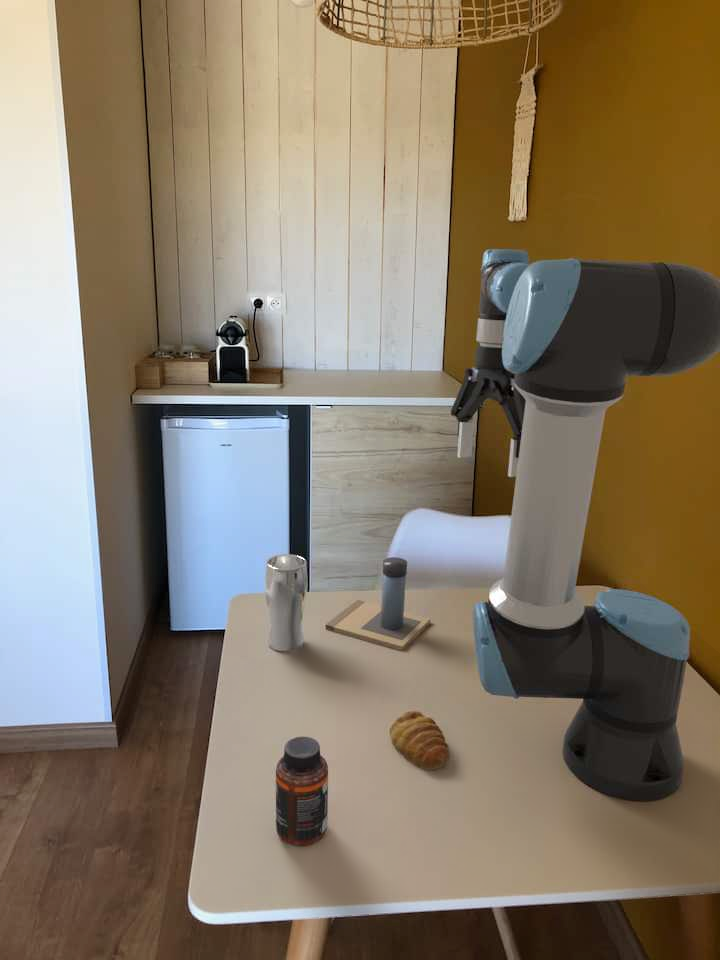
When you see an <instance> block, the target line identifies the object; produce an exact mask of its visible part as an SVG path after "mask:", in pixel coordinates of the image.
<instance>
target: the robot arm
mask: <svg viewBox="0 0 720 960" xmlns="http://www.w3.org/2000/svg"><path fill="white" fill-rule="evenodd" d="M529 256H530V255H529V252H528V251H527V250H525V249H500V248H497V249H496V248H492V249H491V248H489V249H487V250H485V251H484V253H483V256H482V265H481V268H480V273H481V274H480V275H481V276H480V293H479V294H480V295H479V310H478V319H477V328H476V337H475V338H476V341H477V342H478V343H479V344H477V346H475V357H474V365H475V366H476V367H467V368H465V370H464V378H463V380H462V384H461V386H460V388H459V390H458V392H457V393H458V394H457V395H456V398H455V400H454V403H453V405H452V408H451V410H450V415H451V416H453V417H455V418H456V421H458V424H457V439H458V441H457V454H456V455H457V457H456V458H459V459H463V458H469V457H470V458H471V457H472V456H473V453H472V452H473V440H474V439H473V438H474V429H475V427H474V426H475V421H473V420H474V416H475V414H476V413H477V411H478V410H479V409H480V408H481V406H482V404H483V405H484V402H485V401H486V400H487V399H490V400H492V401H495V402H497V403H498V405H500V406H501V407H502V410H503V412H504V414H505V417H506V419H507V421H508V424H509V426H510V429H511V431H512V433H513V437H512V438H511V439H510V446H509V448H510V449H509V459H508V471H507V477H510V478H513V477H515V484H514V492H513V493H514V494H513V501H512V509H511V517H510V523H509V532H508V540H507V549H506V556H505V562H504V563H505V565H504V572H503V577H502V578H500V579H499V580H497V581H495V582H494V583H493V584H492V586H491V587H490V590H489V594H488V599H487V600H488V601H484V600H482V601H480V602H479V601H478V602H476V603H475V604H473V612H472V613H473V614H472V618H473V621H472V622H473V634H474V635H473V636H474V647H475V655H476V663H477V668H478V674H479V679H480V683H481V686H482V687H483V689H484V691H486V692H487V693H488V694H490V695H493V696H498V697H499V696H501V697H510V698H511V697H512V698H514V699H519V698H540V699H541V698H543V699H545V698H547V699H548V698H549V699H576V700H578V699H579V700H581V699H582V702H581V703H580V706H579V707H578V709H577V711H576V713H575V715H574V717H572V720H571V721H570V723H569V725H568V728H567V729H566V731H565V735H564V739H563V746H562V757H563V760H564V762H565V765H566V766H567V768H568V769H569V770H570V772H571V773H573V775H575V776H576V778H578V779H579V780H580V781H582V782H583V783H584V784H585V785H587V786H589V787H591V788H592V789H595V790H597V791H599V792H601V793H604V794H605V795H609V796H612V797H616V798H620V799H623V800H630V801H640V802H642V801H645V802H646V801H647V802H648V801H655V800H660V799H662V798H666V797H669V796H670V795H672V794H673V793H675V792H676V791H677V790H678V789H679V787H680V785H681V784H682V779H683V778H682V777H683V773H684V757H683V751H682V747H681V742H680V737H679V732H678V727H677V720H678V719H677V718H678V713H679V707H680V701H681V696H682V692H683V691H682V690H683V685H684V679H685V673H686V669H687V662H688V659H689V657H690V648H689V647H690V638H691V628H690V625H689V622H688V620H687V619H686V617H685V616H684V615H683V614H682V613H681V612H680V611H679V610H678V609H676V608H675V607H674V606H672V605H670V604H669V603H666V602H665V601H662V600H661V599H659V598H656V597H654V596H651V595H648V594H645V593H641V592H638V591H632V590H626V589H620V588H619V589H617V588H615V589H613V588H612V589H607V590H605V591H604V590H603V591H601V592H599V593H598V594H597V595H596V597H595V598H594V600H593V605H585V602H584V599H583V598H582V595H580V594H579V593H578V592H577V590H576V587H577V586H576V585H577V580H578V574H579V568H580V567H579V566H580V561H581V558H582V557H581V556H582V549H583V546H584V545H583V543H584V538H585V531H586V525H587V520H588V515H589V510H590V503H591V497H592V492H593V486H594V479H595V473H596V469H597V461H598V457H599V451H600V445H601V438H602V434H603V427H604V421H605V415H606V410H607V409H608V408H610V407H611V406H612V405H614V404H615V403H617V402H618V401H620V400H621V399H622V398H623V397H624V393H625V387H626V382H627V378H628V377H632V376H633V377H637V376H639V377H664V376H665V377H666V376H673V375H676V374H679V373H681V374H682V373H684V372H688V371H691V370H693V369H695V368H697V367H699V366H702V365H703V364H705V363H706V362H708V361H709V360H710V359H712V358H713V357H714V356H715V355H716V354H717V353H718V352H719V351H720V279H719V278H717V276H715V275H714V274H712V273H710V272H708V271H706V270H703V269H701V268H698V267H696V266H692V265H688V264H682V263H678V262H677V263H676V262H649V261H648V262H645V261H643V262H642V261H623V260H604V259H581V258H572V257H570V258H567V259H565V258H563V259H546V260H543V259H542V260H537V261H535V262H533V263H531V262H530V257H529Z"/></svg>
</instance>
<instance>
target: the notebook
mask: <svg viewBox="0 0 720 960" xmlns="http://www.w3.org/2000/svg"><path fill="white" fill-rule="evenodd" d="M380 622H381V605H379V604H377V603H376V604H375V603H371V602H368V601H364V600H362V599H357V600H355V601H354V602H353V603H351V604H350V605H349V606H348V607H347V608H345V609H344V610H343V611H341V612H339V613H338V614H337V615H336V616H335V617H333V618H332V619H331V620H329V621H328V622H327V623H326V624H325V629H326V630H328V631H331V632H336V633H339V634H343V635H345V636H349V637H353V638H356V639H360V640H363V641H367V642H369V643H370V642H371V643H373V644H378V645H381V646H384V647H387V648H390V649H394V650H398V651H404V649H406V648H407V647H408V645H410V644H411V642H413V641H414V640H415V639H416V638H417V636H419V635H420V633H422V632H423V631H424V630H425V629H426V627H428V626H429V625H430V624H431V618H429V617H424V616H421V615H417V614H414V613H410V612H406V611H404V615H403V627H402V628H400V629H397V630H388V629H385V628H383V627H382V626H381V625H380Z"/></svg>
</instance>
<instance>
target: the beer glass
mask: <svg viewBox="0 0 720 960" xmlns="http://www.w3.org/2000/svg"><path fill="white" fill-rule="evenodd" d="M265 568H266V569H265V581H264V583H265V585H264V586H265V598H266V603H267V609H268V615H269V619H270V621H269V622H270V631H269V636H268V646H269V647H270V648H271V649H272V650H273V651H277V652H282V653H290V652H296V651H298V650H300V649H301V648H303V646H304V645H305V638H304V633H303V618H304V612H305V607H306V601H307V598H308V597H307V595H308V570H307V568H308V567H307V560H306V559H305V558H304V557H302V556H299V555H298V554H297V555H296V554H290V553H288V554H287V553H284V554H283V553H282V554H278V555H277V554H276V555H273V556H271V557H269V558H268V559H267V560H266V567H265Z"/></svg>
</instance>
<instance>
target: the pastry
mask: <svg viewBox="0 0 720 960" xmlns="http://www.w3.org/2000/svg"><path fill="white" fill-rule="evenodd" d="M389 736H390V740H391V743H392V746H394V748H395V749H396V751H397V752H398V751H399V752H400V754H401V756H403V757H404V758H405V759H406V760H408V761H410V762H411V763H412V764H414V765H415V766H416V767H418V768H422V769H424V770H426V771H434V770H436V769H440V768H442V767H444V766H445V765H446V762H447V761H448V760H449V757H450V753H449V750H448V745H449V744H447V743H446V739H445V738H446V737H445V736H444V734H443V731H442V729H441V728H440V727H439V726H438V725H437V723H436V722H435V720H434V719H433V718H432V717H428V716H425V715H424V714H423V713H422V712H421V711H419V710H413V711H412V710H411V711H407V712H405V713H403V714H402V715H401V716H398V717H397V718H396V719H395V720H394V721H393V723H392V725H391V726H390V728H389ZM399 752H398V753H399Z"/></svg>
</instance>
